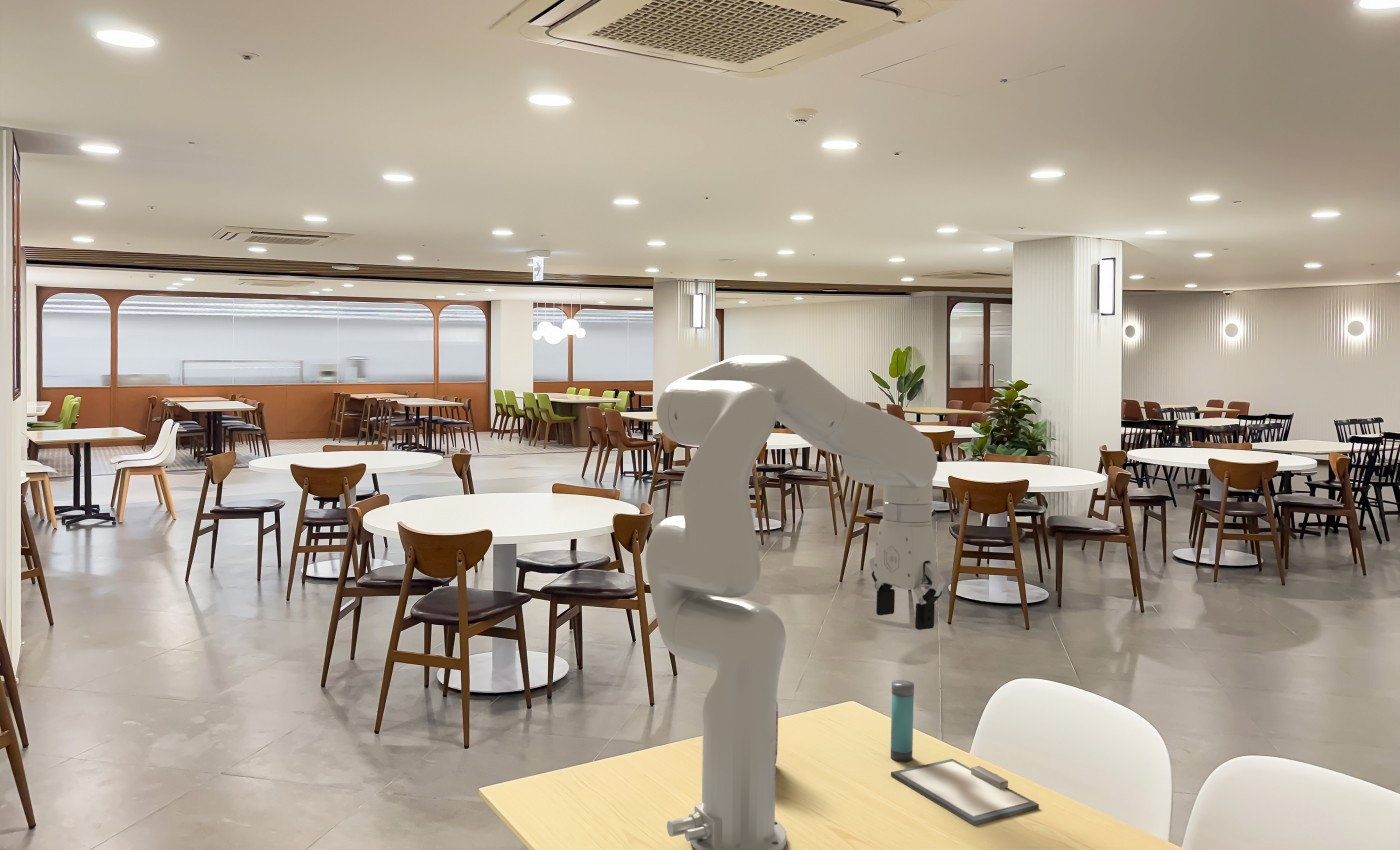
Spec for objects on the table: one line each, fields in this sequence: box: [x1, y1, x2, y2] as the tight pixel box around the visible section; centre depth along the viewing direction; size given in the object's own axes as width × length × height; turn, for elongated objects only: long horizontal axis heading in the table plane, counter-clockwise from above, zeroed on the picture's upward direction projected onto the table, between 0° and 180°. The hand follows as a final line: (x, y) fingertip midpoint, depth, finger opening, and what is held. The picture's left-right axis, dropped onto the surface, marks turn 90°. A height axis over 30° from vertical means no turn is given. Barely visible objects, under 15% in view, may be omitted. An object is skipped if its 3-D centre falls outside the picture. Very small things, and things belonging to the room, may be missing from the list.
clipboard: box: [890, 758, 1040, 826], centre depth 144 cm, size 12×18×2 cm, turn 27°
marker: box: [890, 679, 915, 763], centre depth 156 cm, size 4×4×12 cm
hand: (904, 621), depth 155 cm, fingers open, 9 cm apart
